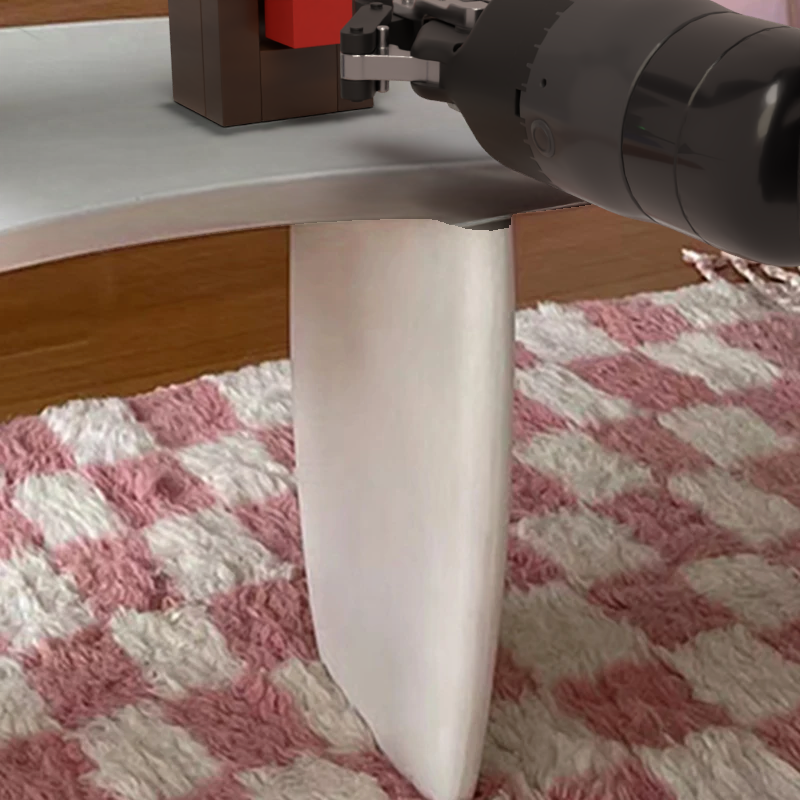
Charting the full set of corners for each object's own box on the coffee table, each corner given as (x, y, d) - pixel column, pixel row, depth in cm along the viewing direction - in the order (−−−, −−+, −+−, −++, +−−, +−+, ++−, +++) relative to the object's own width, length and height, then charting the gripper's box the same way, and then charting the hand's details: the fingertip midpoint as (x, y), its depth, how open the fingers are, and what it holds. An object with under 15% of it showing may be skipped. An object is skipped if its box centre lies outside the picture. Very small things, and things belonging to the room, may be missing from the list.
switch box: (223, 127, 75) (214, -74, 71) (172, 100, 79) (162, -90, 76) (374, 106, 78) (373, -86, 75) (317, 82, 83) (313, -100, 79)
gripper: (779, -34, 56) (505, -90, 70) (458, -1, 50) (226, -70, 64) (759, 175, 59) (500, 82, 73) (454, 229, 53) (233, 117, 67)
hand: (372, 11), depth 68 cm, fingers closed
